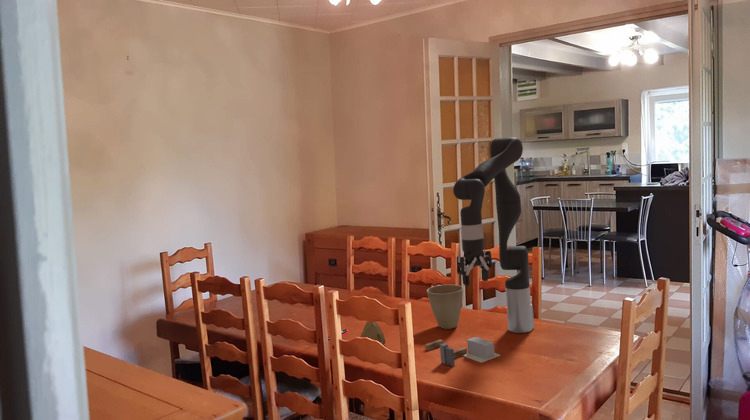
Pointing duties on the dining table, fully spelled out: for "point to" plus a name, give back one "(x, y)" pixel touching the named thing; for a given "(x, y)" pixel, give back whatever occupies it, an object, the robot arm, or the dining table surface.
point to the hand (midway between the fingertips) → (476, 283)
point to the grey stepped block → (447, 354)
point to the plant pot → (446, 304)
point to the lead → (481, 348)
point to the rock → (373, 332)
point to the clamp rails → (437, 343)
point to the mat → (479, 357)
